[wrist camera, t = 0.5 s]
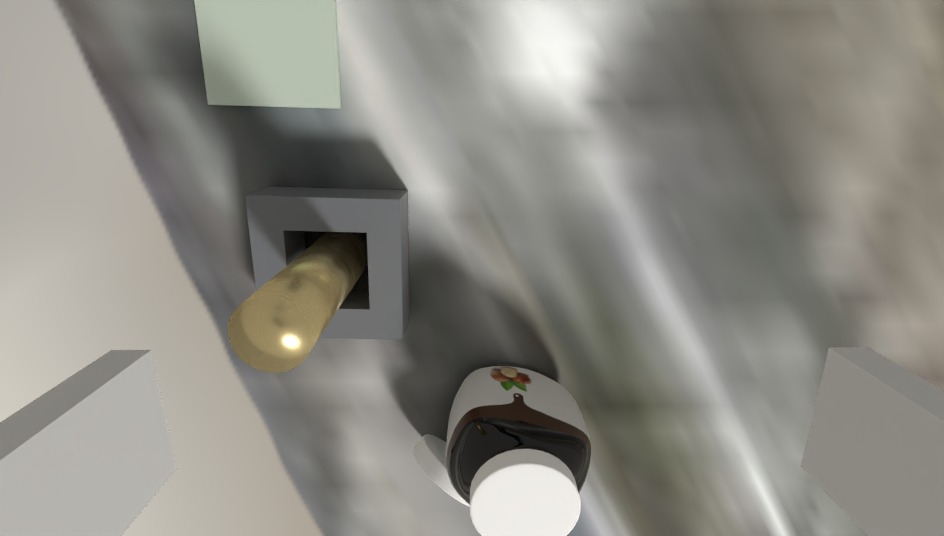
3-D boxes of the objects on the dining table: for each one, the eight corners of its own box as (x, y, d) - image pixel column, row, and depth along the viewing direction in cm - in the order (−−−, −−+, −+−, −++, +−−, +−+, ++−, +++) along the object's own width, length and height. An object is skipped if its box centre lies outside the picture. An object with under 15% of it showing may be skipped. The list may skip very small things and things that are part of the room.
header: (269, 186, 35) (245, 195, 31) (407, 190, 35) (400, 199, 31) (282, 313, 38) (261, 336, 34) (409, 316, 38) (402, 339, 35)
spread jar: (582, 375, 40) (624, 477, 29) (540, 483, 43) (564, 611, 32) (441, 341, 39) (429, 432, 28) (409, 454, 42) (387, 576, 31)
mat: (190, -46, 31) (188, -47, 30) (333, -41, 31) (332, -43, 30) (210, 104, 33) (208, 104, 33) (341, 108, 34) (340, 108, 33)
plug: (314, 227, 36) (222, 296, 23) (367, 229, 36) (308, 298, 23) (317, 278, 37) (233, 371, 24) (369, 280, 37) (314, 373, 24)
